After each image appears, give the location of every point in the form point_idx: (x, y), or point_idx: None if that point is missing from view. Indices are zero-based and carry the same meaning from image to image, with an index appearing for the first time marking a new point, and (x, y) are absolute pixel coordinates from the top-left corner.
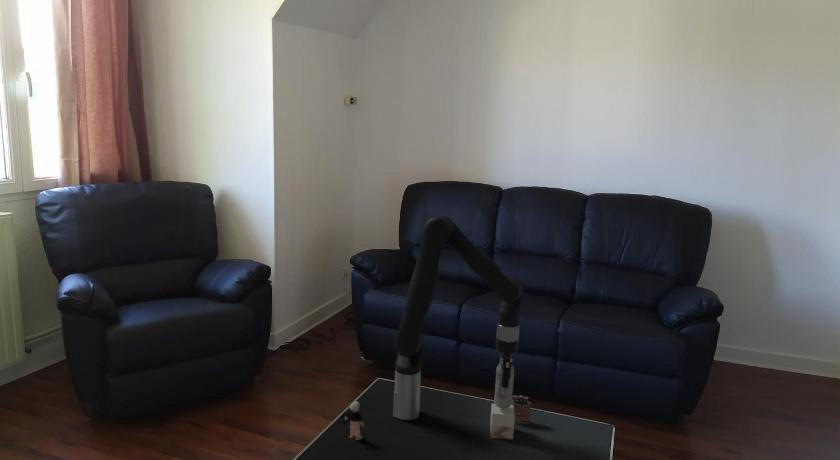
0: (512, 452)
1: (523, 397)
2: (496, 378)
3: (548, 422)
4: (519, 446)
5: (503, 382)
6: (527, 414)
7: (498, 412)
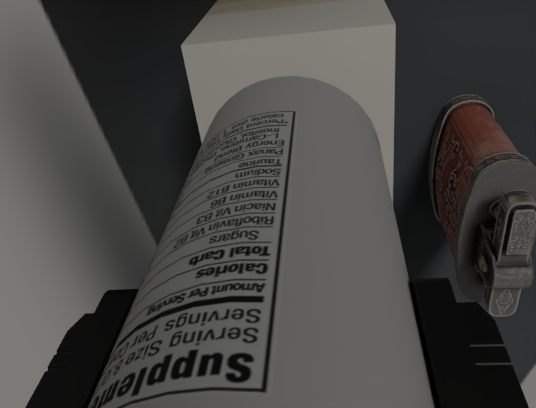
0: (101, 130)
1: (506, 289)
2: (198, 273)
3: (463, 297)
4: (176, 164)
5: (50, 372)
6: (448, 239)
7: (221, 98)
